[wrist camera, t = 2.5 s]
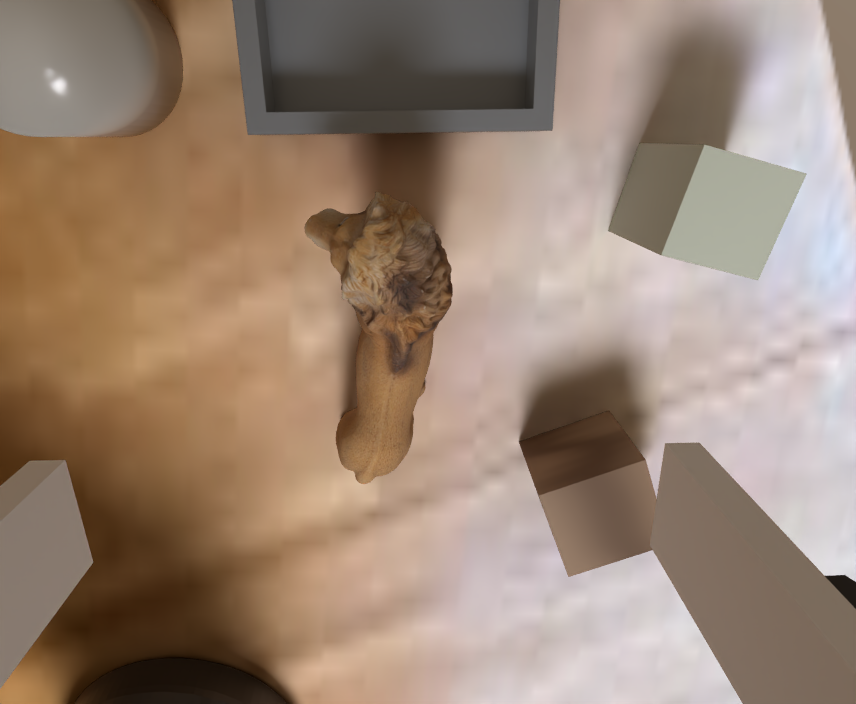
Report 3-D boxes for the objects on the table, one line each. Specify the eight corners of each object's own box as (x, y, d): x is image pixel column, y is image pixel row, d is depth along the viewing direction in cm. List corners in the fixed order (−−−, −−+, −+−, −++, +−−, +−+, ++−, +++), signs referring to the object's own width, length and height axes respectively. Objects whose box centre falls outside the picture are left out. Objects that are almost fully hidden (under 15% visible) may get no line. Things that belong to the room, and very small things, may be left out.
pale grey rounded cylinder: (52, 138, 25) (-51, 138, 19) (15, -25, 23) (-113, -79, 17) (193, 136, 25) (132, 135, 19) (169, -26, 23) (93, -79, 17)
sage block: (607, 231, 27) (661, 255, 21) (639, 142, 26) (704, 144, 20) (686, 251, 28) (757, 280, 22) (720, 165, 26) (806, 173, 21)
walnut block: (544, 513, 33) (568, 576, 28) (518, 441, 31) (538, 495, 26) (630, 485, 32) (668, 544, 27) (608, 409, 30) (645, 459, 26)
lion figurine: (326, 179, 26) (288, 200, 17) (445, 180, 26) (465, 201, 18) (340, 465, 31) (316, 587, 22) (439, 464, 31) (452, 585, 23)
